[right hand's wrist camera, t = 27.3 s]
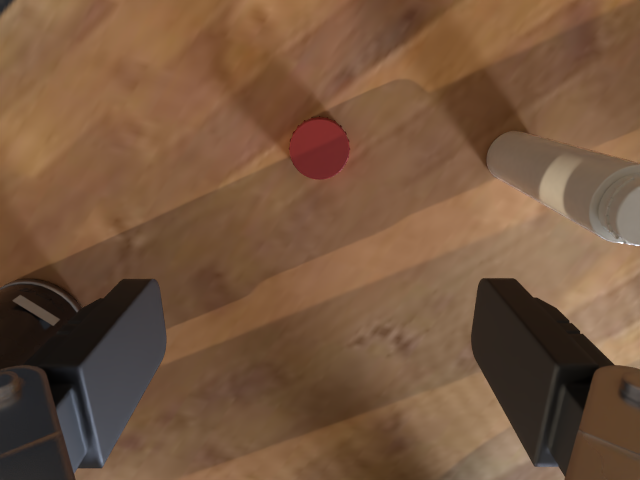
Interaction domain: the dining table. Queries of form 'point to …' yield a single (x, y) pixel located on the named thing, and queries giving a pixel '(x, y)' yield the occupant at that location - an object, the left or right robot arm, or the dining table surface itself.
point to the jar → (572, 182)
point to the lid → (319, 148)
